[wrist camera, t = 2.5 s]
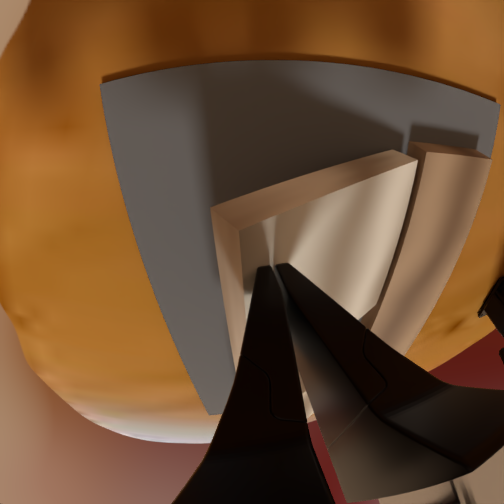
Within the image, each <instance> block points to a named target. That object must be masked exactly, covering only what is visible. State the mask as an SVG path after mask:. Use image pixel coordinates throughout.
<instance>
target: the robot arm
mask: <svg viewBox="0 0 504 504" xmlns="http://www.w3.org/2000/svg"><path fill="white" fill-rule="evenodd" d="M485 315H488V317H489V318H490V320H491V321H492V323H493V324H494V326H495V327H496V329H497V330H498V332H499V333H501V334H502V336H503V337H504V277H503V278H501V279H500V280H499V281H498V282H497V284H496V286H495V288H494V289H493V291H492V293H491V294H490V296H489V298H488V299H487V301H486V302H485V304H484V306H483V307H482V309H481V310H480V312H479V313H478V317H479V318H480V317H483V316H485ZM499 355H500V357H501V359H502V361H503V364H504V348H502V349H501V350H500V351H499ZM298 371H299V373H300V376H301V379H302V381H303V384H304V387H305V390H306V392H307V395H308V398H309V400H310V403H311V406H312V409H313V411H314V414H315V417H316V419H317V422H318V425H319V427H320V430H321V433H322V436H323V438H324V441H325V444H326V446H327V448H328V452H329V455H330V458H331V460H332V463H333V466H334V468H335V471H336V474H337V477H338V480H339V482H340V485H341V488H342V490H343V493H344V496H345V499H346V501H347V503H351V502H359V501H366V500H372V499H379V502H380V504H504V390H495V389H483V388H473V387H463V386H456V385H452V384H449V383H446V382H443V381H441V380H439V379H438V378H436V377H434V376H433V375H431V374H430V373H428V372H427V371H425V370H424V369H422V368H421V367H419V366H418V365H417V364H415V363H414V362H412V361H411V360H409V359H408V358H406V357H405V356H403V355H402V354H400V353H399V352H398V351H396V350H395V349H393V348H392V347H391V346H389V345H388V344H387V343H385V342H384V341H383V340H382V339H380V338H379V337H378V336H377V335H376V334H374V333H373V332H372V331H371V330H370V329H368V328H367V329H366V326H365V325H363V324H362V323H361V322H360V321H359V320H357V319H356V318H355V317H354V316H353V315H351V314H350V313H349V312H348V311H347V310H345V309H344V308H343V307H342V306H341V305H339V304H338V303H337V302H336V301H335V300H333V299H332V298H331V297H330V296H329V295H327V294H326V293H325V292H324V291H323V290H321V289H320V288H319V287H318V286H316V285H315V284H314V283H313V282H312V281H310V280H309V279H308V278H307V277H306V276H304V275H303V274H302V273H301V272H299V271H298V270H297V269H296V268H295V267H293V266H292V265H291V264H290V263H280V264H276V265H275V267H274V271H273V269H272V267H271V266H270V265H266V266H260V267H258V268H257V271H256V276H255V281H254V287H253V292H252V297H251V302H250V307H249V312H248V317H247V322H246V327H245V332H244V337H243V342H242V347H241V352H240V356H239V361H238V366H237V370H236V374H235V378H234V382H233V385H232V388H231V391H230V394H229V397H228V400H227V403H226V406H225V408H224V411H223V413H222V416H221V419H220V421H219V424H218V426H217V429H216V431H215V434H214V436H213V439H212V441H211V444H210V446H209V448H208V450H207V452H206V454H205V456H204V458H203V460H202V462H201V463H200V465H199V466H198V467H197V469H196V470H195V472H194V473H193V475H192V476H191V477H190V479H189V480H188V482H187V483H186V484H185V486H184V487H183V489H182V490H181V491H180V493H179V494H178V496H177V497H176V498H175V500H174V501H173V502H172V504H335V502H334V499H333V496H332V494H331V492H330V489H329V486H328V484H327V481H326V479H325V476H324V474H323V471H322V468H321V466H320V464H319V461H318V458H317V456H316V453H315V451H314V448H313V445H312V442H311V438H310V434H309V429H308V424H307V417H306V412H305V406H304V400H303V395H302V389H301V384H300V378H299V373H298Z"/></svg>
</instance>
